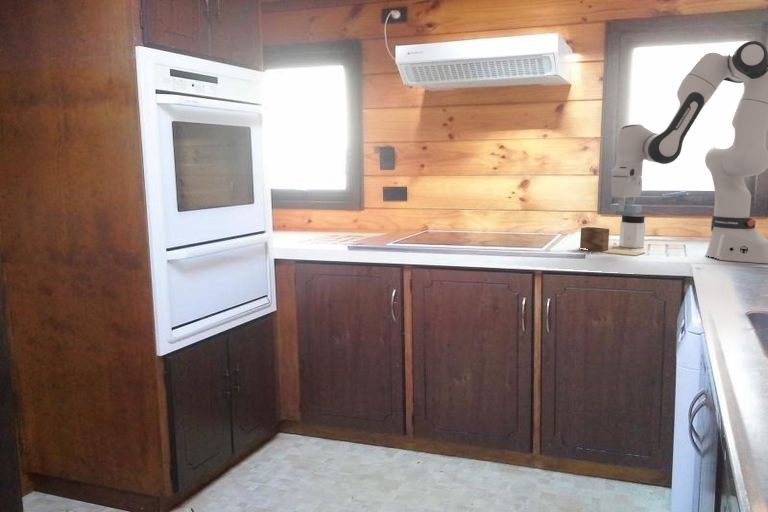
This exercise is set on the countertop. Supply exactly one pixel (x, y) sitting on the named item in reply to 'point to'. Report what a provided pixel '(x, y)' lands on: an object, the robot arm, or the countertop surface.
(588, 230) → the box
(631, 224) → the jar
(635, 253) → the mat
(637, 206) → the lid
